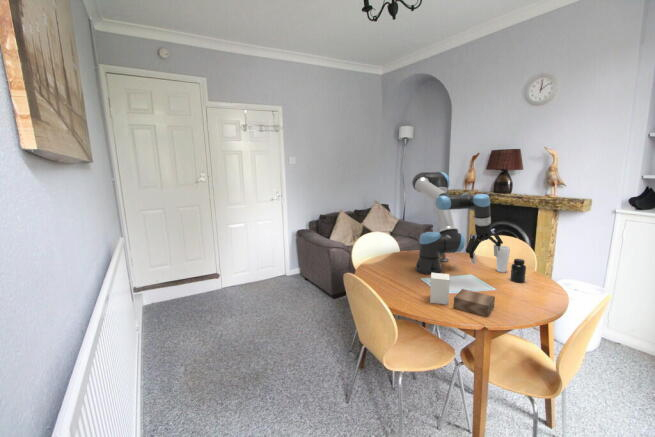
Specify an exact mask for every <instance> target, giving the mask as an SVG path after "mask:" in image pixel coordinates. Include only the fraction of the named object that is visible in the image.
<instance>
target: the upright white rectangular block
mask: <svg viewBox="0 0 655 437" xmlns="http://www.w3.org/2000/svg"><path fill="white" fill-rule="evenodd" d="M450 280H451V279H450V273H442V272H441V273H431V274H430V289H429V290H430V291H429V292H430V294H429V303H430V304H431V303H432V304H437V305H438V304H439V305H447V306H448V305H449V294H450V282H451V281H450Z"/></svg>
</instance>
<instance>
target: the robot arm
mask: <svg viewBox="0 0 655 437" xmlns="http://www.w3.org/2000/svg"><path fill="white" fill-rule="evenodd" d="M450 182H451V181H450V177H449V176H448V174H447V173H446V172H443V171H430V172H429V171H427V172H425V171H423V172H419V173H417V174H416V175H414V177H413V178H412V182H411V184H412V187H413V189H414V190H415V191H417V192H418V193H422V194H423V195H425V196H426V197H428V198H429V199H431V200H432V201H433V206H434V209H435V210H434V211H435V214H436V218H437V223H438V228H439V231H427V232H422V233H421V234H420V235H419V241H418V242H419V243H418V244H419V247H418V248H419V251H418V259H417V262H416V265H415V271H416V272H418V273H420V274H424V275H431V273H441V274H442V273H443V268H442V265H441V261H440V260H439V257H440V256H439V254H441V253H445V254H455V253H460V252H462V251H463V249H464V247H465V243H466V240H465V236H464V234H463V233H461V232H459V229H458V228H456V226H455V224H454V221H453V216H452V211H451V210H470V211H473V214H474V217H473V218H474V224H475V225H474V230H475V234H469V235H470V236H469V241H468V243H467V246H466V248H465V252H466V253H468V255H469V258H470V259H471V264H473V265H476V264H477V261H476V252H475V251H476V249H477V248H478V246H479V244H481V243H482V242H484V241H487V240H489V241H491V242H492V243H493V256H494V257H497V258H498V257H499V250H500V247H499V246H502V245H503V244H504V241H503V240H502V238H501V237H500V235H499V234H498V230H497V229H496V228H493V227H492V218H491V216H492V215H491V200H490V196H489V194H487V193H478V194H474V195H472V194H470V193H463V194H461V195H460V194H453V195H451V194H449V193H447V191H448V188H449V187H450ZM491 235H493V236H494V237H492V236H491ZM494 238H495V239H494ZM497 258H496V259H497Z"/></svg>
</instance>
